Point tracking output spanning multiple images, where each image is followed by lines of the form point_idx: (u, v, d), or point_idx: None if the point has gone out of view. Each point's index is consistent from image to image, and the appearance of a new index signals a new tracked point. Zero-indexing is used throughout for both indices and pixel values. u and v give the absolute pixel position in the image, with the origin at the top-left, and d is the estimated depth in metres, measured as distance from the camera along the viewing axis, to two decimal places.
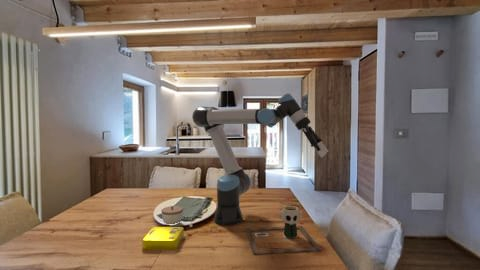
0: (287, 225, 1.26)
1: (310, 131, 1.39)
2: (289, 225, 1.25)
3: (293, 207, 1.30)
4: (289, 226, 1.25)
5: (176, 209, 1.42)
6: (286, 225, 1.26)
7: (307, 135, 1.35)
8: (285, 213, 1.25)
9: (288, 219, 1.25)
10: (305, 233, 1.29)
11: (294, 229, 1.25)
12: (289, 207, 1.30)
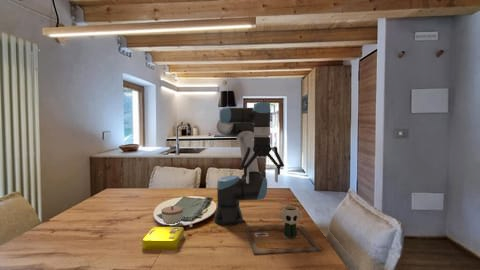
0: (287, 225, 1.26)
1: (255, 153, 1.26)
2: (289, 225, 1.25)
3: (293, 207, 1.30)
4: (289, 226, 1.25)
5: (176, 209, 1.42)
6: (286, 225, 1.26)
7: (244, 155, 1.27)
8: (285, 213, 1.25)
9: (288, 219, 1.25)
10: (305, 233, 1.29)
11: (294, 229, 1.25)
12: (289, 207, 1.30)
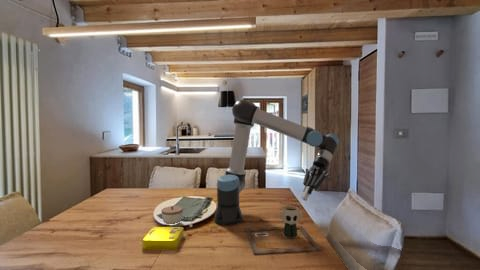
0: (287, 225, 1.26)
1: (320, 175, 1.40)
2: (289, 225, 1.25)
3: (293, 207, 1.30)
4: (289, 226, 1.25)
5: (176, 209, 1.42)
6: (286, 225, 1.26)
7: (322, 178, 1.36)
8: (285, 213, 1.25)
9: (288, 219, 1.25)
10: (305, 233, 1.29)
11: (294, 229, 1.25)
12: (289, 207, 1.30)
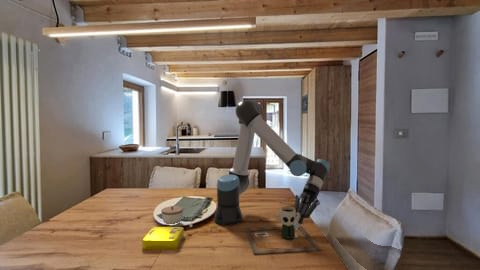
0: (284, 226, 1.25)
1: (310, 203, 1.35)
2: (286, 226, 1.24)
3: (290, 208, 1.28)
4: (286, 227, 1.24)
5: (176, 209, 1.42)
6: (283, 226, 1.25)
7: (313, 207, 1.31)
8: (282, 214, 1.23)
9: (285, 220, 1.23)
10: (305, 233, 1.29)
11: (291, 230, 1.24)
12: (286, 208, 1.29)
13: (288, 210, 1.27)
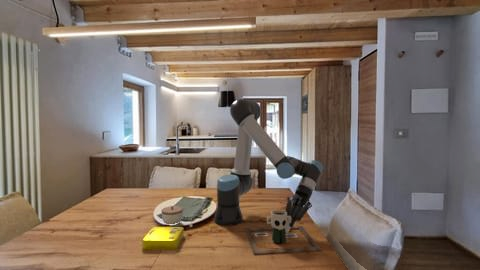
0: (276, 230, 1.20)
1: (302, 206, 1.31)
2: (278, 230, 1.20)
3: (281, 211, 1.24)
4: (278, 231, 1.20)
5: (176, 209, 1.42)
6: (275, 230, 1.21)
7: (304, 210, 1.27)
8: (274, 218, 1.19)
9: (277, 224, 1.19)
10: (305, 233, 1.29)
11: (283, 234, 1.20)
12: (277, 211, 1.25)
13: (279, 213, 1.24)
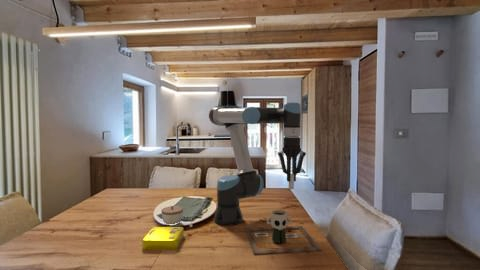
0: (276, 230, 1.20)
1: (288, 156, 1.25)
2: (278, 230, 1.20)
3: (281, 211, 1.24)
4: (278, 231, 1.20)
5: (176, 209, 1.42)
6: (275, 230, 1.21)
7: (281, 161, 1.26)
8: (274, 218, 1.19)
9: (277, 224, 1.19)
10: (305, 233, 1.29)
11: (283, 234, 1.20)
12: (277, 211, 1.25)
13: (279, 213, 1.24)
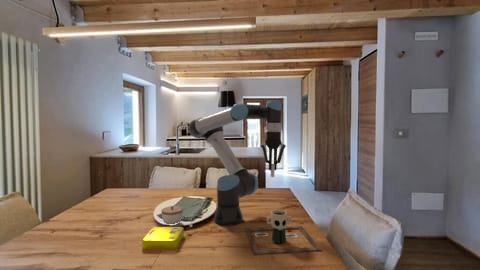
0: (276, 230, 1.20)
1: (269, 148, 1.42)
2: (278, 230, 1.20)
3: (281, 211, 1.24)
4: (278, 231, 1.20)
5: (176, 209, 1.42)
6: (275, 230, 1.21)
7: (263, 152, 1.44)
8: (274, 218, 1.19)
9: (277, 224, 1.19)
10: (305, 233, 1.29)
11: (283, 234, 1.20)
12: (277, 211, 1.25)
13: (279, 213, 1.24)
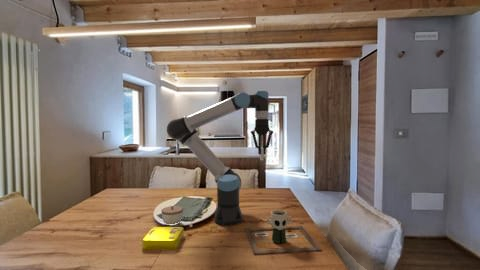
0: (276, 230, 1.20)
1: (259, 134, 1.56)
2: (278, 230, 1.20)
3: (281, 211, 1.24)
4: (278, 231, 1.20)
5: (176, 209, 1.42)
6: (275, 230, 1.21)
7: (253, 138, 1.57)
8: (274, 218, 1.19)
9: (277, 224, 1.19)
10: (305, 233, 1.29)
11: (283, 234, 1.20)
12: (277, 211, 1.25)
13: (279, 213, 1.24)
